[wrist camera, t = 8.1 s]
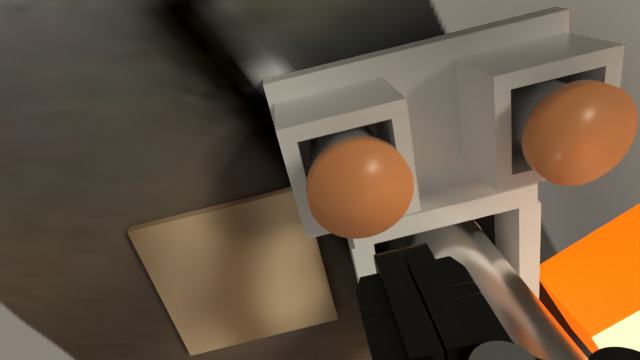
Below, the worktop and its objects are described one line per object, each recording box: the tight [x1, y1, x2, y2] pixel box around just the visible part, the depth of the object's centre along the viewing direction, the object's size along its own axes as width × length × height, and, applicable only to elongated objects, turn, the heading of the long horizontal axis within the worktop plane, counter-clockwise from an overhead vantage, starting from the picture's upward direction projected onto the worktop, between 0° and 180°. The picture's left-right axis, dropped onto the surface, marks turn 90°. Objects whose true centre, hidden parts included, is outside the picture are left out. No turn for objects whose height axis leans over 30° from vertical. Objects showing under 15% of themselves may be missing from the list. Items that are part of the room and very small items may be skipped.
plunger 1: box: [306, 125, 414, 239], centre depth 19 cm, size 4×4×5 cm
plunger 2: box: [511, 79, 638, 186], centre depth 19 cm, size 4×4×5 cm
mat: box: [127, 187, 338, 355], centre depth 26 cm, size 10×10×1 cm
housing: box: [263, 7, 625, 299], centre depth 23 cm, size 15×18×5 cm
